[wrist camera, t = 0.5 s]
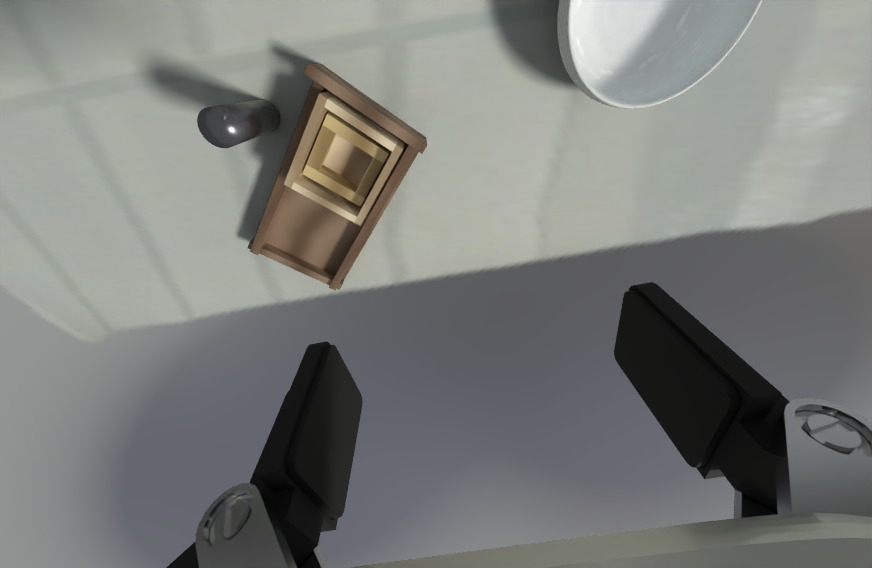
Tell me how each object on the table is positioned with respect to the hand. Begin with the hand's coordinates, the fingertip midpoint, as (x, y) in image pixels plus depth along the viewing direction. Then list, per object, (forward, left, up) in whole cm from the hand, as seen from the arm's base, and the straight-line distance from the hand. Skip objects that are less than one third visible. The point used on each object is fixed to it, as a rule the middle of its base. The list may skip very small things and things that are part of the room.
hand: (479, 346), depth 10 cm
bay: (-8, -11, -33) cm, 36 cm away
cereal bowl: (+9, +22, -34) cm, 41 cm away
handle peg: (-18, -7, -33) cm, 39 cm away
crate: (-8, -6, -32) cm, 34 cm away
